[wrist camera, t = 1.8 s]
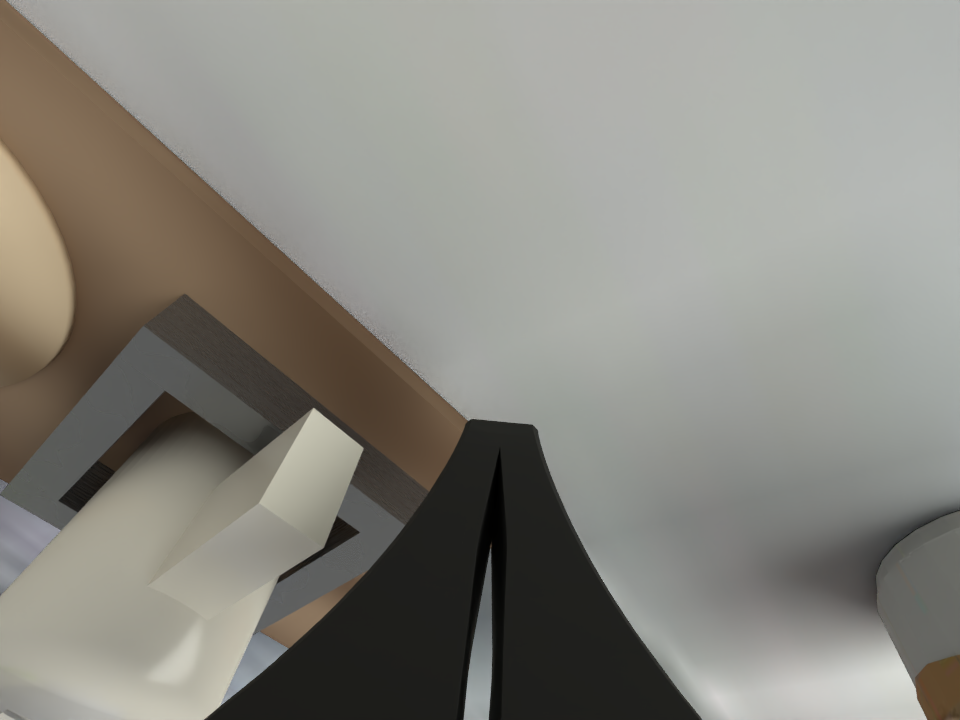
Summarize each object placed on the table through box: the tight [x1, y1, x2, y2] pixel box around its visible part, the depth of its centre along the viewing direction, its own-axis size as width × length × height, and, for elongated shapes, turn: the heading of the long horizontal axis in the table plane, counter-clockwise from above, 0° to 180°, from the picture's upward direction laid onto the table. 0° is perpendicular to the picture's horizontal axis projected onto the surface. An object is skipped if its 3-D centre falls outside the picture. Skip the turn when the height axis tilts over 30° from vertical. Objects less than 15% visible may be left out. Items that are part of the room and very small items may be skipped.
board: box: [0, 0, 491, 648], centre depth 14 cm, size 13×24×1 cm, turn 42°
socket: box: [0, 294, 429, 635], centre depth 15 cm, size 8×8×2 cm
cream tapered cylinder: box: [0, 408, 364, 720], centre depth 13 cm, size 9×5×6 cm, turn 132°
